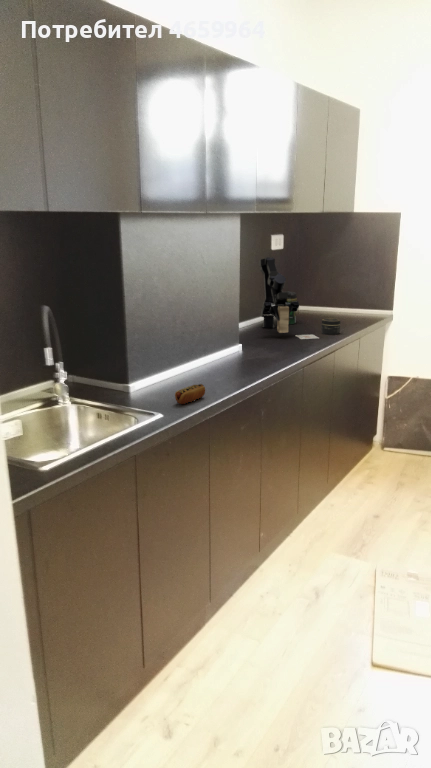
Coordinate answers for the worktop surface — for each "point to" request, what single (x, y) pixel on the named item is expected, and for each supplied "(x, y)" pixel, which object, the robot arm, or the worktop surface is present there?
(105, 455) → the worktop surface
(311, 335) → the card
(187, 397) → the hot dog
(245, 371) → the worktop surface
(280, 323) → the oak block
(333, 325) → the jar
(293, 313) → the coffee jar
